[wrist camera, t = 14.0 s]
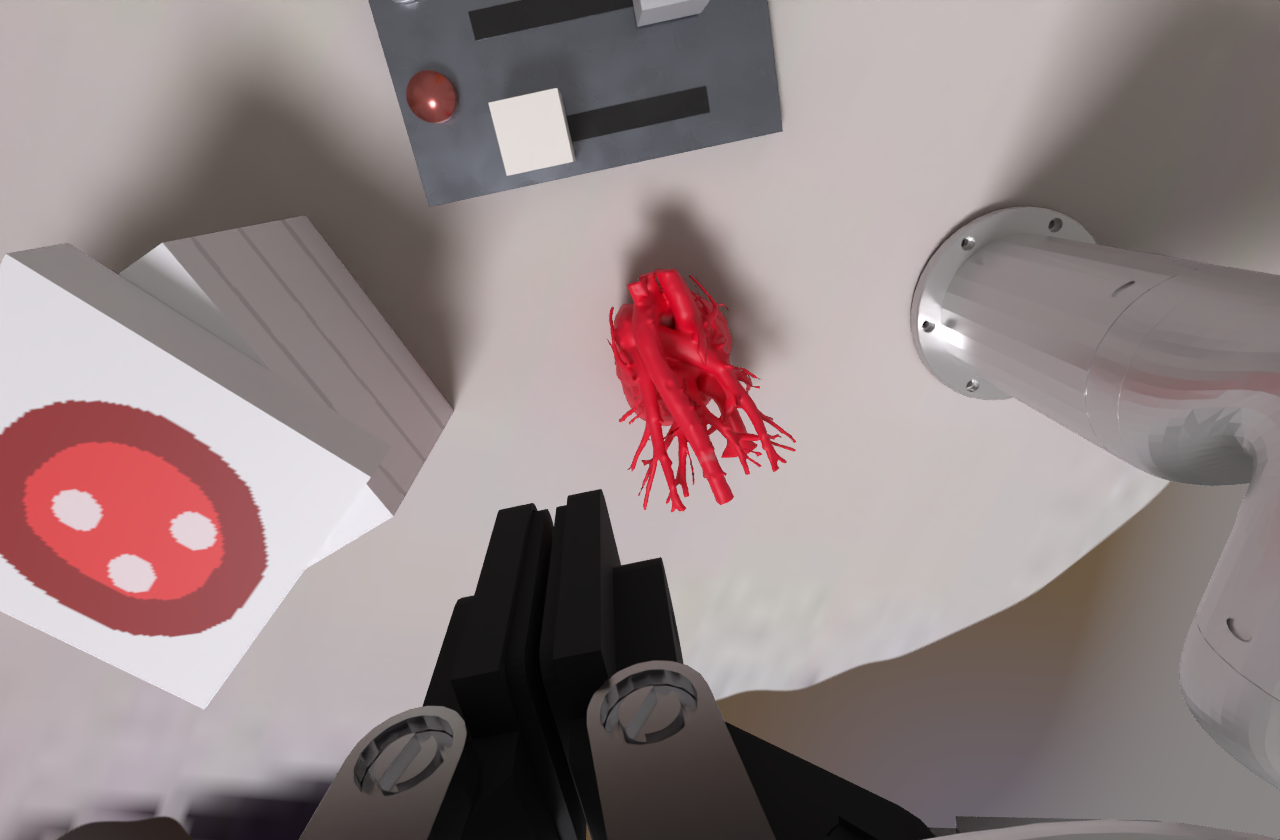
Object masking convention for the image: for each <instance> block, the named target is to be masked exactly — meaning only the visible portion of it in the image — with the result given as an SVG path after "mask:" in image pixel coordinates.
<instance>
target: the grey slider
mask: <svg viewBox="0 0 1280 840" xmlns="http://www.w3.org/2000/svg"><path fill="white" fill-rule="evenodd" d="M709 1H710V0H633V5H634V11H635V16H636V22H637V27H639V26H644V25H649V24H653V23H658V22H662V21H667V20H671V19H676V18H681V17H685V16H690V15H694V14H699V13H701V12H702V11H703V9H704V8H705V6H706V5H707V4H708V2H709Z"/></svg>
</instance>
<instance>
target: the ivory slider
mask: <svg viewBox="0 0 1280 840" xmlns="http://www.w3.org/2000/svg"><path fill="white" fill-rule="evenodd" d="M488 104H489V108H490V112H491V116H492V119H493V123H494V127H495V131H496V135H497V139H498V143H499V147H500V151H501V155H502V159H503V163H504V167H505V171H506V175H507V176H509V175H514V174H519V173H524V172H528V171H533V170H538V169H542V168H547V167H552V166H556V165H561V164H566V163H570V162H575V161H576V159H575V154H574V150H573V145H572V140H571V136H570V131H569V127H568V122H567V118H566V113H565V108H564V104H563V99H562V95H561V93H560V92H559V90H558V88H554V89H549V90H545V91H540V92H536V93H531V94H526V95H522V96H517V97H512V98H508V99H503V100H499V101H494V102H489V103H488Z"/></svg>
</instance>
